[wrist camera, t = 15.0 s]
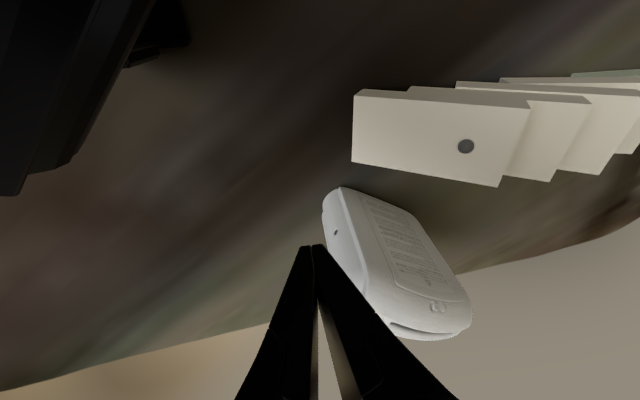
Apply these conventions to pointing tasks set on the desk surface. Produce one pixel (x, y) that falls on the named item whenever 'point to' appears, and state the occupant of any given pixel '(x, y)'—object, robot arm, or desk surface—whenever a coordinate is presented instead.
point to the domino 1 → (437, 133)
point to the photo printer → (395, 266)
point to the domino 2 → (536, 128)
